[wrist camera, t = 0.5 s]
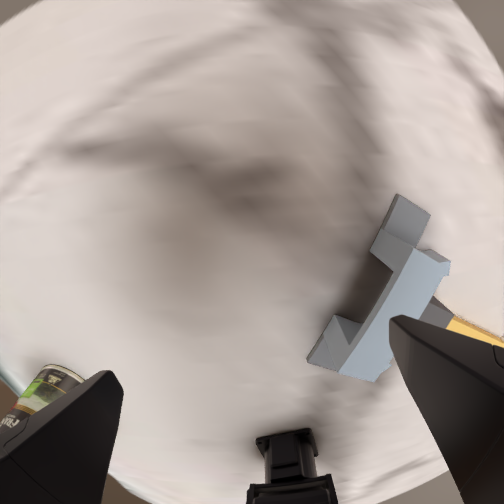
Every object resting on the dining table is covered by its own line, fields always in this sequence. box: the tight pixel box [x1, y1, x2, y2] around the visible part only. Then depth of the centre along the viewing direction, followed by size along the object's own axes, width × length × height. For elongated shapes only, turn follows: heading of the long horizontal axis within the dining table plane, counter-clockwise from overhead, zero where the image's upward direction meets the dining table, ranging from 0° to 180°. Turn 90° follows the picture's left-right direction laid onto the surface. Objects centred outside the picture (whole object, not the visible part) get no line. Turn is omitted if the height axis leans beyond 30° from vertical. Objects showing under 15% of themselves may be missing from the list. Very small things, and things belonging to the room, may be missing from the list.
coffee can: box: [0, 365, 84, 433], centre depth 21 cm, size 10×10×14 cm
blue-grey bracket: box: [307, 194, 451, 382], centre depth 20 cm, size 6×16×5 cm, turn 157°
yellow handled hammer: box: [418, 296, 504, 348], centre depth 22 cm, size 22×4×4 cm, turn 67°
